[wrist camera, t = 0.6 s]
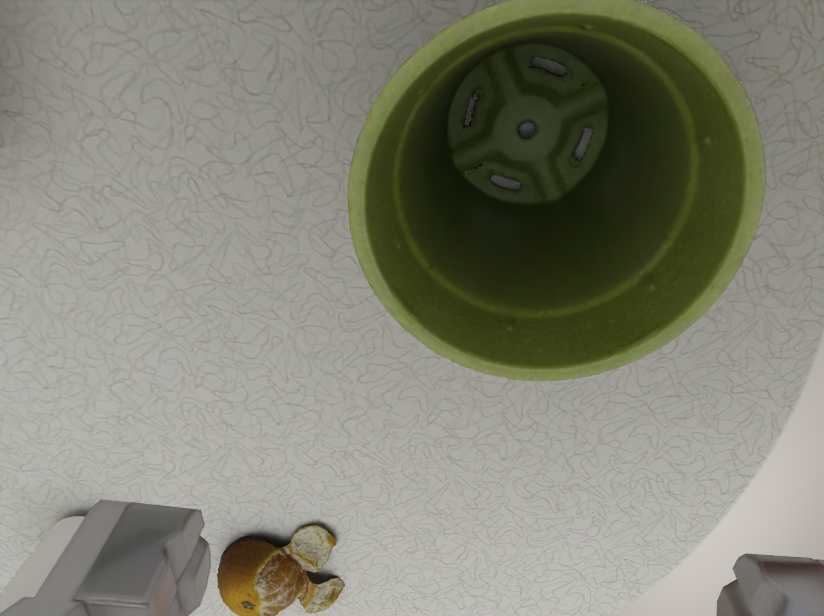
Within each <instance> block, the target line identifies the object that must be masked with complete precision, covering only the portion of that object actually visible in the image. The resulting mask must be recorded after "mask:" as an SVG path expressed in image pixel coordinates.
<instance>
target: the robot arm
mask: <svg viewBox="0 0 824 616" xmlns="http://www.w3.org/2000/svg"><path fill="white" fill-rule="evenodd" d="M204 525H205V523H204V520H203V516H202V512H201V510H197V509H188V508H179V507H170V506H160V505H151V504H142V503H133V502H122V501H111V500H100V501H99V502H98V503H96V504H95V505H94V506H93V507H92V508H91V509H90V510H89V512H88V513H87V515H86V516H85V518H84V519H83V521H82V523H81V524H80V526H79V527H78V529H77V530H76V532H75V534H74V535H73V537H72V538H71V540H70V541H69V543H68V545H67V546H66V548H65V549H64V551H63V552H62V554H61V556H60V557H59V559H58V560H57V562H56V563H55V565H54V567H53V568H52V570H51V571H50V573H49V574H48V576H47V578H46V579H45V581H44V582H43V584H42V585H41V587H40V589H39V590H38V592H37V593H36V595H35V596H34V597H23V598H21V599H20V600H18V601H17V602H15V603H14V604H13V605H11V606H10V607H8V608H7V609H5V610H4V611H2V612H1V613H0V616H188V615H190V614H191V613H192V612H193V611H194V610H195V609H197V608H198V607H199V606H200V604H201V601H202V598H203V596H204V593H205V590H206V587H207V582H208V577H209V573H210V568H211V553H210V548H209V543H208V542H207V541H206V540H205V539H203V538H202V537H201V536H200V534H201V532H202V529H203V527H204ZM733 571H734V573H735V575H736V578H737V579H736V580H735V581H733V582H731V583H729V584H728V585H726V586H724V587H723V589H722V591H721V594H720V596H719V598H718V601H717V616H824V560H813V559H812V558H802V557H788V556H773V555H758V554H744V555H742V556H741V557H739V558H738V559H737V561H736V563H735V565H734V567H733Z"/></svg>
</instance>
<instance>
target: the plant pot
mask: <svg viewBox="0 0 824 616" xmlns="http://www.w3.org/2000/svg"><path fill="white" fill-rule="evenodd" d="M535 57H539V58H542V59H549V60H551V61H555V62H557V63H559V64H561V65H563V66H565V67H566V68H567V71H566V74H565V75H564V76H562V77H559V76H556V75H554V74H552V73H549V72H547V71H544V70H542V69H540V68H530V67H532V64H531V62H532V59H533V58H535ZM527 66H528V67H527ZM590 81H592V82H590ZM584 83H586V85H582V84H584ZM473 95H478V96H479V99H478V102H477V104H476V106H475V110H474V112H473V115H472V121H471V126H464V128H463V125H464V122H465V113H466V109H467V106H468V103H469V101H470V99H471V97H472V96H473ZM526 121H529V122H531V123H533V124H534V126H535V129H536V130H535V133H534V135H533V136H532V137H529V138H524V137H521V135H520V134H519V131H518V128H519V126H520V124H522V123H524V122H526ZM583 127H587V128H592V129H593V132H592V137H591V140H590V143H589V144H588V146H587V151H586V152H585V154H584V157H583V158H582V159H581V160H580V161H578V160H576V159H575V158H574V157H572V155H573V153H574V151H575V150H576V148H577V146H578V144H579V141H580V139H581V136H582V133H583ZM462 128H463V129H462ZM483 163H485V164H483ZM480 164H483V165H482V166H481V167H479V168H478V169H476V170H474V171H473V172H470V173H468V174H466V173H465V171H467V170H469V169H471V168H474V167H475V166H478V165H480ZM494 174H498V175H500V176H503V177H505V178H508V179H511V180H516V181H519V182H521V183H522V185H521V187H520V188H519V189H517V190H510V189H506V188H502V187H500V186H498V185H496V184H494V183H492V182H491V181H490V177H491V176H492V175H494ZM562 175H563V178H562ZM563 179H564V180H563ZM765 180H766V164H765V154H764V147H763V143H762V138H761V134H760V129H759V124H758V121H757V118H756V115H755V112H754V109H753V107H752V104H751V101H750V99H749V97H748V95H747V93H746V91H745V89H744V87H743V86H742V84H741V83H740V81H739V80H738V78H737V77H736V75H735V74H734V72H733V71H732V69H731V68H730V66H729V65H728V63H727V62H726V61H725V60H724V59H723V57H722V56H721V55H720V54H719V53H718V52H717V51H716V50H715V48H714V47H713V46H712V45H711V44H710V43H709V42H708V41H707V40H706V39H705V38H703V37H702V36H701V35H700V34H698V33H697V32H696V31H695V30H693V29H692V28H690V27H689V26H688V25H686V24H685V23H683V22H682V21H680V20H678V19H677V18H675V17H673V16H671V15H669V14H667V13H665V12H663V11H661V10H659V9H657V8H655V7H653V6H650V5H647V4H645V3H642V2H639V1H636V0H506V1H502V2H499V3H497V4H494V5H491V6H489V7H486V8H484V9H482V10H479V11H477V12H475V13H472V14H470V15H469V16H467V17H465V18H463V19H461V20H460V21H458V22H456V23H454V24H453V25H451V26H449V27H447V28H446V29H444V30H443V31H441V32H440V33H439V34H437V35H436V36H435V37H433V38H432V39H430V40H429V41H428V42H427V43H425V44H424V45H423V46H422V47H421V48H419V49H418V50H417V51H416V52H415V53H414V54H413V55H412V56H411V57H410V58H409V59H408V60H407V61H406V62H405V63H404V64H403V65H402V66H401V67H400V68H399V69H398V71H397V72H396V73H395V74H394V75H393V76H392V78H391V79H390V80H389V82H388V83H387V84H386V85H385V87H384V88H383V90H382V91H381V93H380V94H379V96H378V97H377V99H376V101H375V102H374V104H373V106H372V108H371V110H370V112H369V114H368V116H367V118H366V120H365V122H364V125H363V127H362V130H361V132H360V135H359V137H358V139H357V143H356V147H355V151H354V155H353V159H352V163H351V169H350V174H349V183H348V208H349V220H350V229H351V234H352V239H353V244H354V247H355V251H356V254H357V257H358V260H359V263H360V265H361V267H362V270H363V272H364V274H365V276H366V278H367V280H368V282H369V284H370V286H371V287H372V289H373V291H374V293H375V294H376V296H377V297H378V299H379V300H380V301H381V303H382V304H383V306H384V307H385V308H386V309H387V311H388V312H389V313H390V314H391V315H392V316H393V317H394V318H395V320H396V321H397V322H398V323H399V324H400V325H401V326H402V327H403V328H404V329H405V330H406V331H407V332H409V333H410V334H411V335H412V336H413V337H414V338H416V339H417V340H418V341H420V342H421V343H422V344H424V345H425V346H427V347H428V348H430V349H431V350H433V351H434V352H436V353H438V354H439V355H441V356H443V357H445V358H447V359H449V360H452V361H454V362H456V363H458V364H460V365H463V366H465V367H467V368H470V369H473V370H475V371H478V372H481V373H485V374H489V375H493V376H497V377H503V378H508V379H513V380H525V381H554V380H564V379H575V378H581V377H587V376H592V375H596V374H599V373H602V372H605V371H609V370H612V369H615V368H618V367H620V366H623V365H626V364H628V363H631V362H633V361H635V360H638V359H640V358H642V357H644V356H646V355H648V354H650V353H652V352H654V351H656V350H658V349H659V348H661V347H663V346H664V345H666V344H667V343H669V342H670V341H671V340H673V339H674V338H675V337H677V336H678V335H679V334H681V333H682V332H683V331H685V330H686V329H687V328H688V327H689V326H690V325H692V324H693V323H694V322H695V321H697V320H698V319H699V318H700V317H701V316H702V315H703V314H704V313H705V312H706V311H707V310H708V309H709V308H710V307H711V306H712V304H713V303H714V302H715V301H716V300H717V299H718V298H719V296H720V295H721V294H722V292H723V291H724V290H725V288H726V287H727V286H728V284H729V283H730V281H731V280H732V279H733V277H734V275H735V273H736V272H737V270H738V269H739V267H740V266H741V264H742V261H743V259H744V257H745V255H746V254H747V252H748V250H749V248H750V245H751V243H752V241H753V238H754V236H755V232H756V229H757V226H758V223H759V219H760V215H761V210H762V205H763V200H764V192H765ZM564 181H565V182H564Z"/></svg>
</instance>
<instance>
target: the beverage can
mask: <svg viewBox="0 0 824 616" xmlns="http://www.w3.org/2000/svg"><path fill="white" fill-rule="evenodd" d="M84 518H85V517H84V516H73V517H68V518H64V519H62V520H60V521H58V522H57V523H56V524H55V525H54V526H53V527H52V528H51V529H50V530H49V531H48V533H47V534H46V535H45V536H44V538H43V539H42V540H41V542H40V543H39V544H38V546H37V547H36V548H35V549H34V551H33V552H32V553H31V555H30V556H29V557H28V559H27V560H26V561H25V563H24V564H23V565H22V566H21V568H20V569H19V570H18V572H17V573H16V574H15V576H14V577H13V578H12V580H11V581H10V582H9V583H8V585H7V586H6V587H5V589H4V590H3V591H2V593H1V594H0V613H1V612H2V611H4V610H5V609H7V608H8V607H10V606H11V605H13V604H14V603H15V602H17V601H18V600H20V599H21V598H23V597H34V596H35V595H36V593H37V592H38V590H39V589H40V587H41V585H42V584H43V582H44V581H45V579H46V578H47V576H48V574H49V573H50V571H51V570H52V568H53V567H54V565H55V563H56V562H57V560H58V559H59V557H60V556H61V554H62V552H63V551H64V549H65V548H66V546H67V545H68V543H69V541H70V540H71V538H72V537H73V535H74V534H75V532H76V530H77V529H78V527H79V526H80V524H81V523H82V521H83V519H84Z"/></svg>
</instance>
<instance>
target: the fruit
mask: <svg viewBox="0 0 824 616" xmlns="http://www.w3.org/2000/svg"><path fill="white" fill-rule="evenodd" d="M335 545H336V541H335V539H334V537H333V536H332V535H330V534H329V533H328V532H327V530H325V529H324V528H322V527H319V526H318V525H313V526H307V527H303V528H300V529H299V530H297V531H296V532H295V534H294V536H293V537H292V539H291V542H290V543H289V544H288V545H287V546H284V547H275V546H273V545H271V544H269V543H267V542H265V541H264V540H263V539H261V538H253V537H249V536H246V537H243V538H240V539H238V540H237V541H235V542H234V543H232V544H231V545H229V546H228V547H227V548H226V550H225V551H224V552H223V554H222V556H221V561H220V565H219V568H218V574H217V577H218V588H219V590H220V595H221V597H222V599H223V602H224V603H225V604H226V605H227V606H228V607H229V608H230V610H231V611H233V612H234V613H236V614H237V615H239V616H275V615H277V614H278V613H279V611H281V610H283V609H285V608H286V607H288V606H289V605H291V604H292V603H293V601H294V600H295V598H298V599H299V600H300V603H301V605H303V607H304V609H305V610H306V611H305V612H307V613H315V612H319V611H323V610H325V609H326V608H328V607H329V606H330V605H332V604H333V603H334V602H335V600H336V599H337V598H338V595H339V594H340V593H341V591H342V589H343V587H344V583H343V582H342V581H341V580H339V579H338V578H336V579H330V580H329V581H328V582H325V583H322V584H319V585H317V584H313V583H312V582H311V581H310V580H309V578H308V576H307V575H306V571H312V572H314V573H315V572H317V571H318V570H319V569H321V568H322V567H323V566H324V563H325V562H327V561H328V557H329V553H330V551H331V549H332V547H333V546H335Z"/></svg>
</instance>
